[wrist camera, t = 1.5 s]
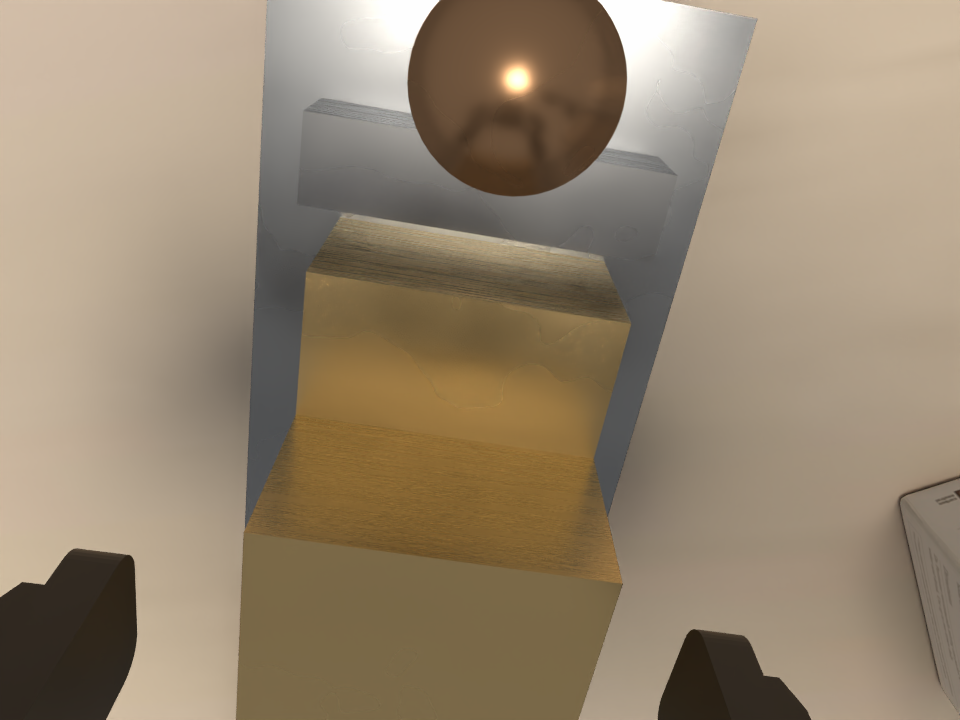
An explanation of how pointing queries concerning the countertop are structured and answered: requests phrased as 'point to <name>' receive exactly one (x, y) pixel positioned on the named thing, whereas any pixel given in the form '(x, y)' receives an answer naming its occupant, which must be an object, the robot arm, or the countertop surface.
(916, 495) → the supplement box
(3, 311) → the countertop surface
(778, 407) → the countertop surface
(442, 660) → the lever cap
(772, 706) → the robot arm
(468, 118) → the grey block holder tray
